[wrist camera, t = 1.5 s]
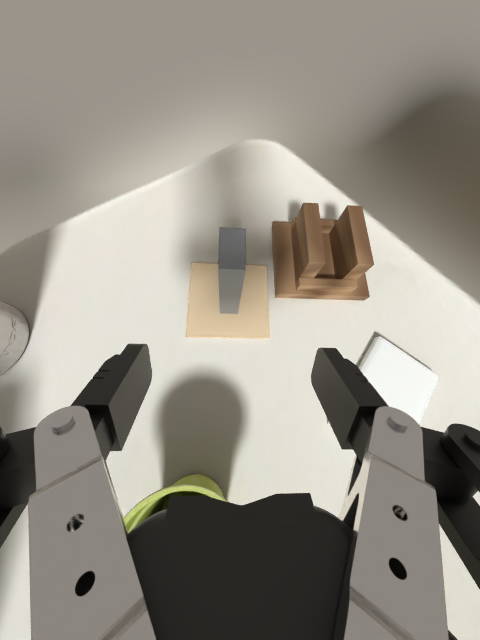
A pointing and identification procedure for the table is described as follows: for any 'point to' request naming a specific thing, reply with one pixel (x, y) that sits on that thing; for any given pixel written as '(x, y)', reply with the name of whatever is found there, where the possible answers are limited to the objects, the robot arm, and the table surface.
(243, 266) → the grey rectangular block
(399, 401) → the external hard drive
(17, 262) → the table surface
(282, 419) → the table surface
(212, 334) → the cork mat
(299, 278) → the rack
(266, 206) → the table surface
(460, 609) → the table surface
